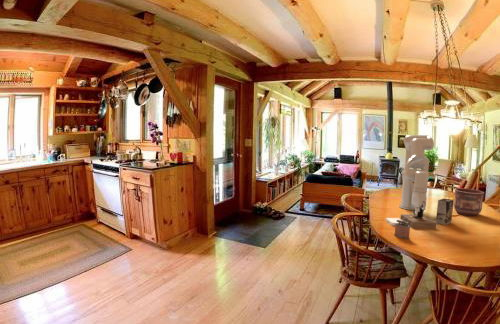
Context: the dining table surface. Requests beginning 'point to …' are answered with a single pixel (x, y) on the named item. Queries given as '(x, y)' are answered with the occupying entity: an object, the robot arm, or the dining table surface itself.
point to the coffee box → (444, 211)
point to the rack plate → (418, 221)
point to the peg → (416, 212)
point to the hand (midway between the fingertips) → (418, 216)
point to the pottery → (468, 201)
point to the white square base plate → (392, 221)
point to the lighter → (402, 229)
